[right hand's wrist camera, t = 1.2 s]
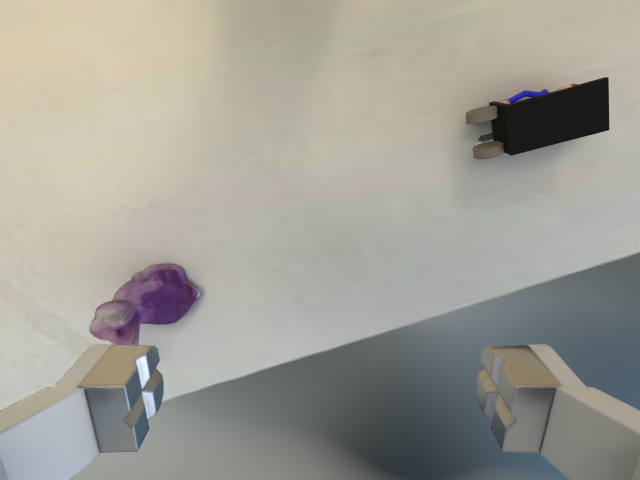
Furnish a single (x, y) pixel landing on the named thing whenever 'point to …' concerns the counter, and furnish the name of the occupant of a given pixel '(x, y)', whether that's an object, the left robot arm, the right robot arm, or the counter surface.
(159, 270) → the figurine
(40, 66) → the counter surface
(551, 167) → the counter surface
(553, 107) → the figurine character
